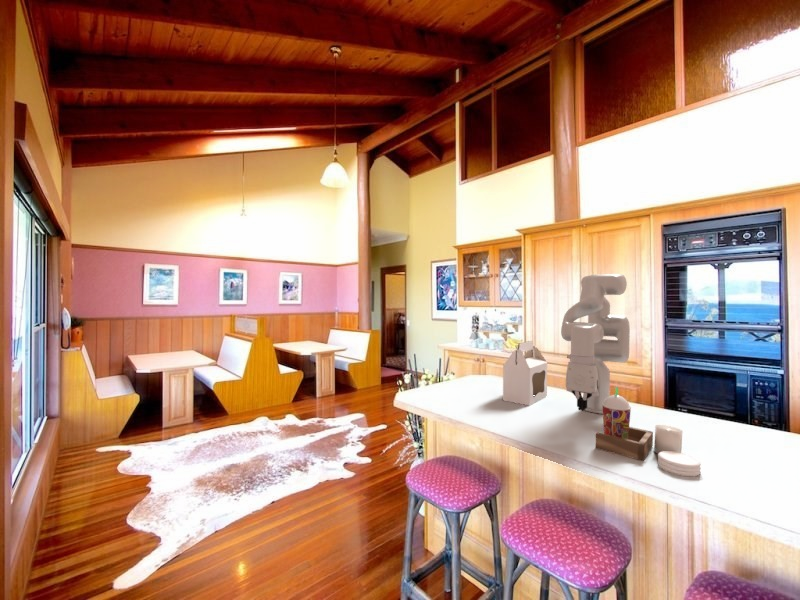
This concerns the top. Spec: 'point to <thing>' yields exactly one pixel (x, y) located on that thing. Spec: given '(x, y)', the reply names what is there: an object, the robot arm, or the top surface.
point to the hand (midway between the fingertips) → (582, 409)
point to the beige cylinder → (667, 439)
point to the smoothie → (616, 416)
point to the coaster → (679, 463)
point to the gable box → (525, 375)
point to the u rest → (627, 443)
